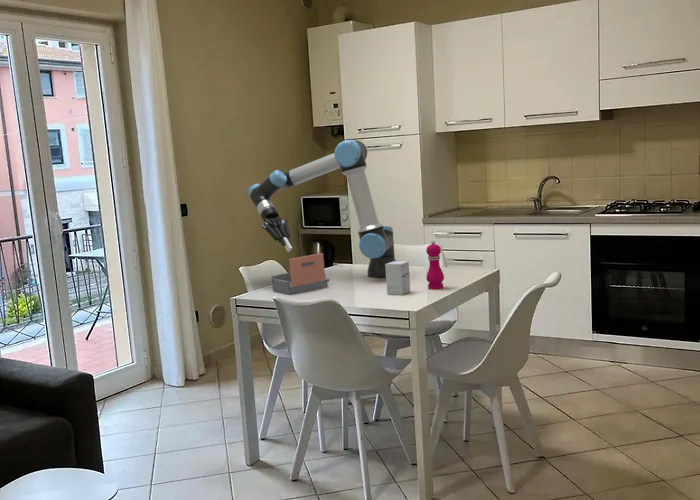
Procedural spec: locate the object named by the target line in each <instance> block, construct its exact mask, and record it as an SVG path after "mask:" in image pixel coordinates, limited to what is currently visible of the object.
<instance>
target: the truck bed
mask: <svg viewBox="0 0 700 500" xmlns="http://www.w3.org/2000/svg"><path fill="white" fill-rule="evenodd" d="M328 282H330V278H327V276H325V280H324V281H319V282H314V283H310V284H305V285H300V286H295V287H292V286H291V275H290V272H286V273H278V274H275V275H271V284H272V285H271V286H272V292H273V291H274V293H279V294H284V295H288V296H291V295H296V294H301V293H305V292H310V291H311V292H312V291H314V290H315V291H316V290H319V289H320V290H321V289H323V288H324V289H325V288H329V286H328V285H329V284H328Z"/></svg>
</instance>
